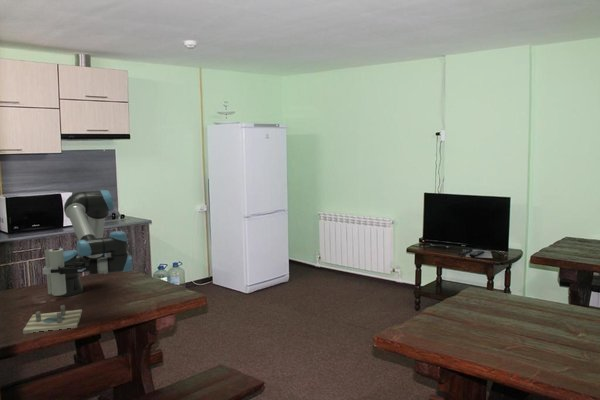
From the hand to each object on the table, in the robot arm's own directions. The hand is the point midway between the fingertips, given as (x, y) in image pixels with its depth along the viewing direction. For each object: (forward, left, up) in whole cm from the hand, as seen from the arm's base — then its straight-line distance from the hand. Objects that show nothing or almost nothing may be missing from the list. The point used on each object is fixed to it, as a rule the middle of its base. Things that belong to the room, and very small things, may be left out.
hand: (43, 270), depth 233 cm
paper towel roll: (-1, +5, -12) cm, 13 cm away
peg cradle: (-1, +3, -26) cm, 26 cm away
